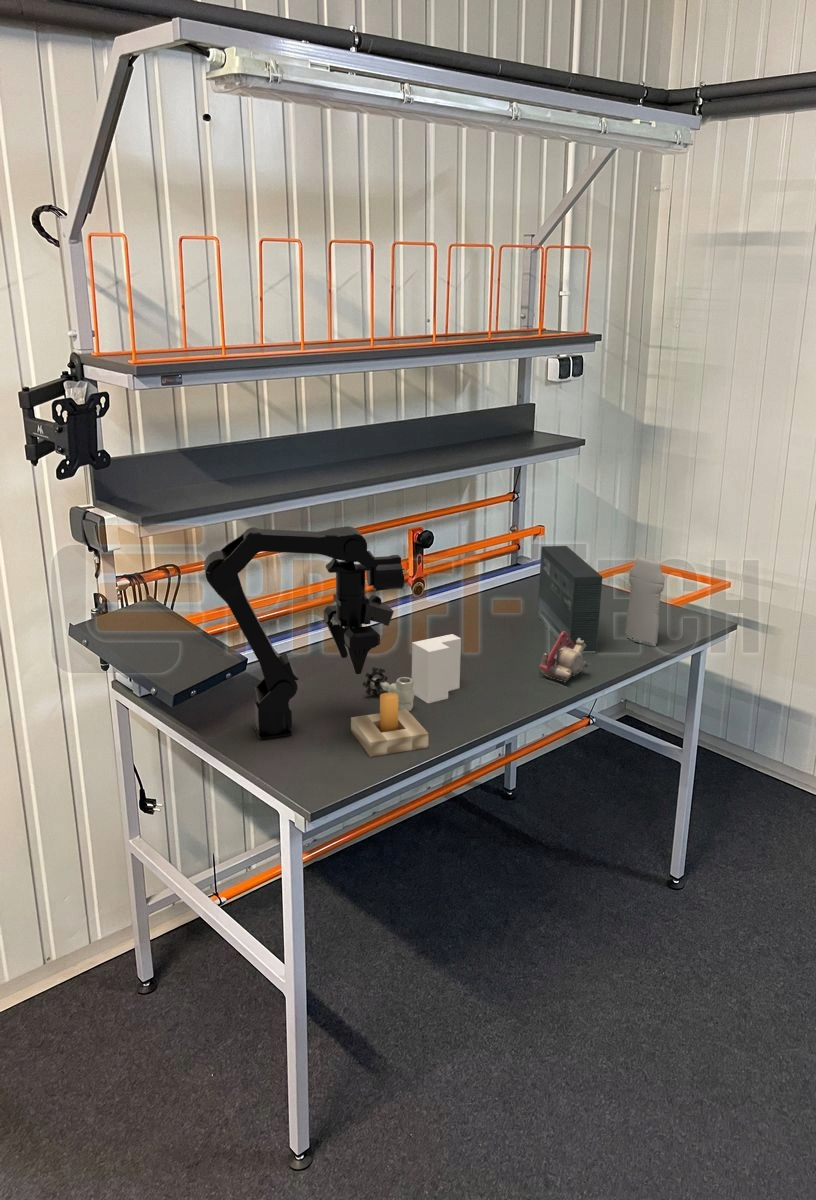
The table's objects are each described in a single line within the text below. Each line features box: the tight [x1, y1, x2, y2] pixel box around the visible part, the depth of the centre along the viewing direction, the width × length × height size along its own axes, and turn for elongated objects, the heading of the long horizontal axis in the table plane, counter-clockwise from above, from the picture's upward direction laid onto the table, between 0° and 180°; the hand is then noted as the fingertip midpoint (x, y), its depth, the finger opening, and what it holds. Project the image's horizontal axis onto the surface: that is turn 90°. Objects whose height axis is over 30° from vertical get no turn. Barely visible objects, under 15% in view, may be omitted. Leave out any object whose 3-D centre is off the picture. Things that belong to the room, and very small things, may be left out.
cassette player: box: [537, 545, 603, 652], centre depth 248 cm, size 29×7×20 cm, turn 8°
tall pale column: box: [624, 557, 665, 644], centre depth 243 cm, size 11×4×22 cm, turn 39°
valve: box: [362, 666, 415, 712], centre depth 208 cm, size 7×7×12 cm
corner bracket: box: [411, 633, 462, 704], centre depth 214 cm, size 11×11×12 cm
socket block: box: [350, 709, 429, 758], centre depth 191 cm, size 12×12×3 cm
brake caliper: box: [539, 631, 590, 682], centre depth 222 cm, size 11×11×12 cm
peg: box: [379, 692, 398, 733], centre depth 190 cm, size 4×4×9 cm
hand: (351, 665), depth 194 cm, fingers open, 9 cm apart
